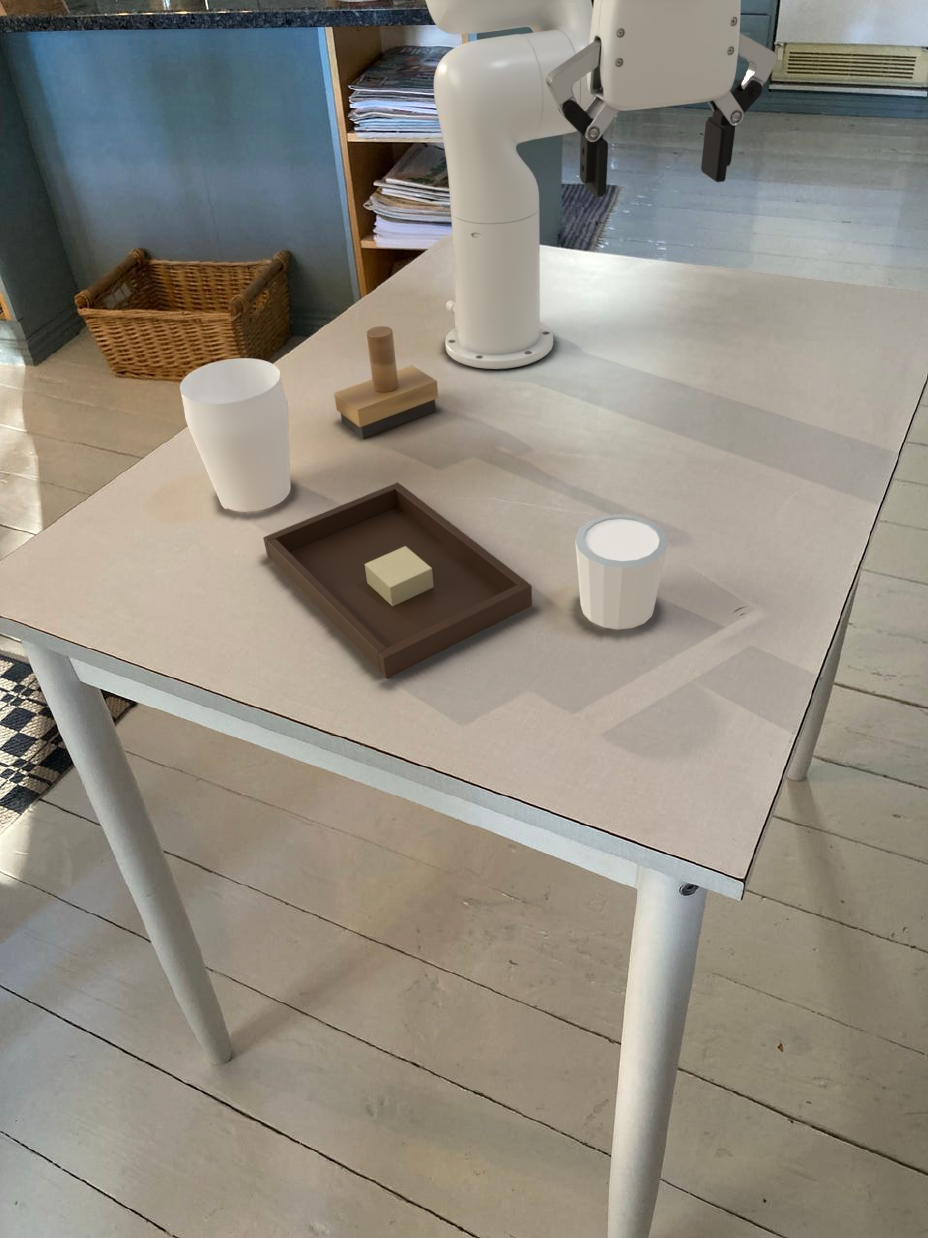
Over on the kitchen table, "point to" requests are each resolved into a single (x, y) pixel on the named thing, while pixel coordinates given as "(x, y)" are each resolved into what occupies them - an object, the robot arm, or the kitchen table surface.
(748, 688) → the kitchen table surface
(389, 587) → the sponge chip
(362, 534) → the tray
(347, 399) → the brush
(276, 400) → the cup
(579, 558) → the white tapered tub
